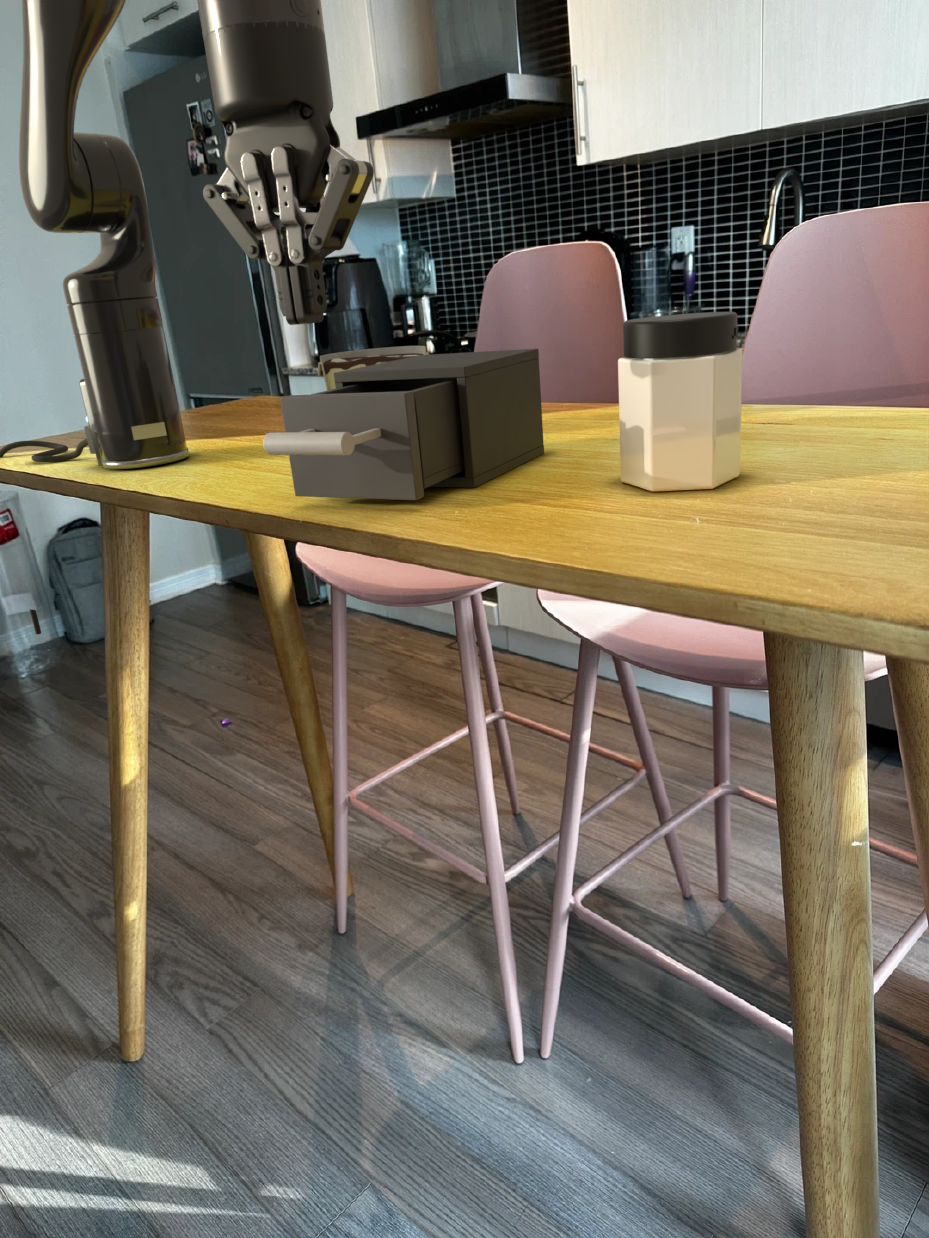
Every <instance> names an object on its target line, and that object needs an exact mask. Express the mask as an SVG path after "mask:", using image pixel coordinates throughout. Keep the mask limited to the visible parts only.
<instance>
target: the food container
mask: <svg viewBox="0 0 929 1238" xmlns="http://www.w3.org/2000/svg"><path fill="white" fill-rule="evenodd" d="M419 355H430V353H429V352H428V351H427V348H426V346H425V345H404V346H403V345H402V346H388V347H387V346H386V347H377V348H367V349H356V350H349V351H339V352H334V353H327V354H323V355H319V362H317V377H322V376H323V379H324V383H325V387H326V391H328V390H332V389H336V387H335V383H336V382H335V379H334V373H336V372H341V371H346V370H350V369H355V368H360V367H365V366H370V365H375V364H380V363H385V362H390V361H394V360H399V359H404V358H409V357H414V356H419Z"/></svg>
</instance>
